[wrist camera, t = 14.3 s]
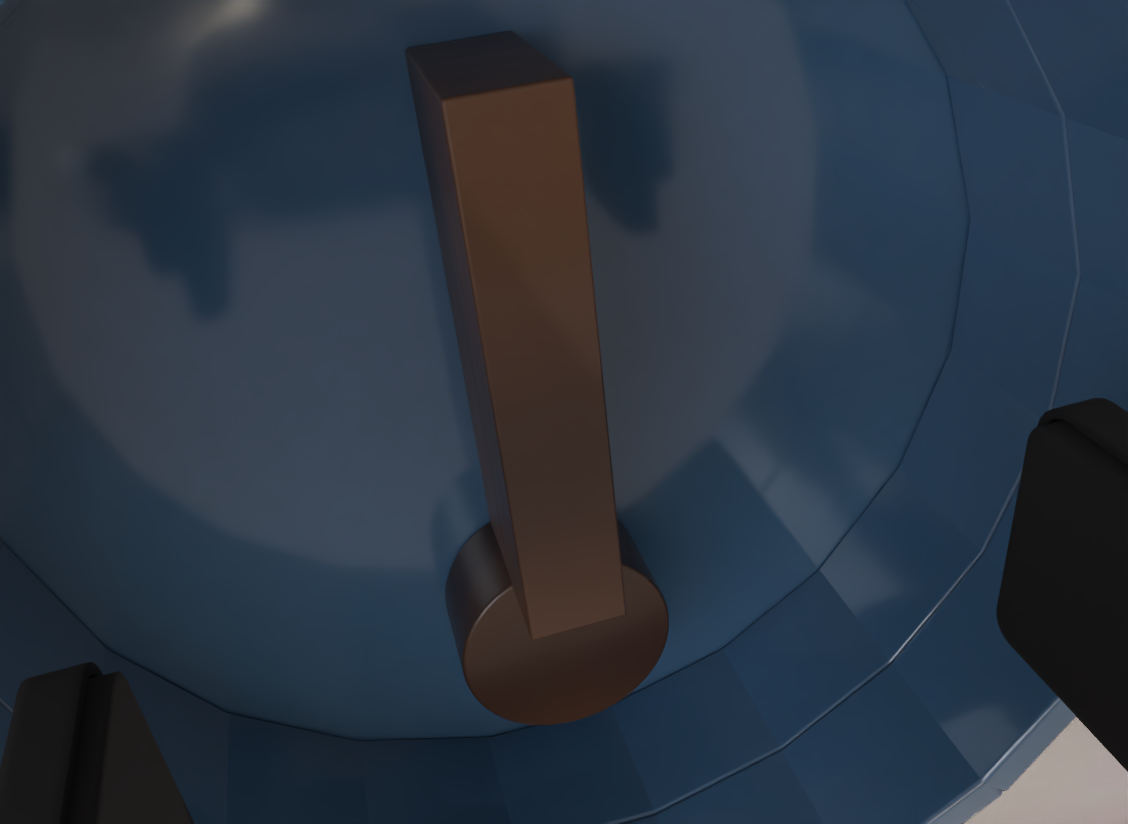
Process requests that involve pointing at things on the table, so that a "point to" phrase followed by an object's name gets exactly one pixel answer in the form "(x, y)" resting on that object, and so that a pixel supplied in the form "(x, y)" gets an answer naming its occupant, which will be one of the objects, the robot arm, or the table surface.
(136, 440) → the mixing bowl
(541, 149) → the ladle
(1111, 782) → the table surface
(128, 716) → the robot arm
